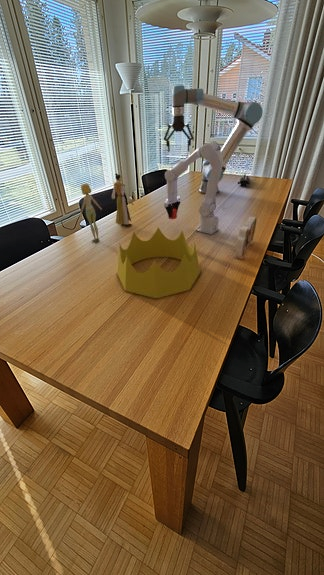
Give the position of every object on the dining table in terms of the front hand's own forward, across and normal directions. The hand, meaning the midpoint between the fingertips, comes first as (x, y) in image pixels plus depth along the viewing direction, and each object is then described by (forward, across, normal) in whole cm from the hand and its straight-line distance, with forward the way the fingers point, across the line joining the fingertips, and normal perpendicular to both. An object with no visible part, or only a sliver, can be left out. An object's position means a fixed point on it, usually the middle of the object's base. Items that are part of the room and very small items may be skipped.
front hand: (172, 215), depth 157 cm
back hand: (-27, -47, -23) cm, 59 cm away
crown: (+5, +52, +24) cm, 57 cm away
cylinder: (+1, 0, 0) cm, 1 cm away
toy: (+5, -110, +6) cm, 111 cm away
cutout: (+6, +13, +49) cm, 51 cm away
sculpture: (+5, +41, -24) cm, 48 cm away
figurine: (+5, +16, -25) cm, 30 cm away
